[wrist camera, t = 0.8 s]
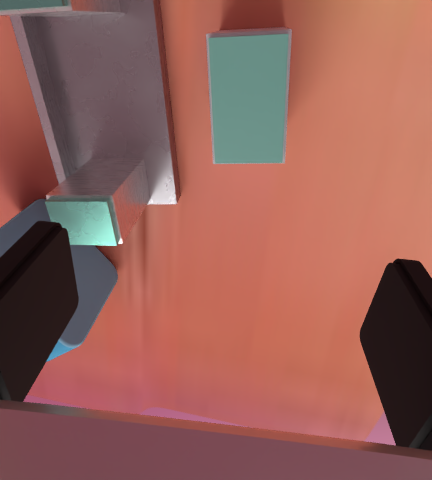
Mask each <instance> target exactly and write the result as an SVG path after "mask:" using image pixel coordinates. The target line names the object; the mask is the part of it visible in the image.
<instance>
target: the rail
mask: <svg viewBox="0 0 432 480" xmlns="http://www.w3.org/2000/svg"><path fill="white" fill-rule="evenodd" d="M0 16H10V19H11V22H12V25H13V29H14V32H15V36H16V39H17V43H18V46H19V49H20V53H21V56H22V60H23V63H24V66H25V70H26V73H27V77H28V80H29V84H30V87H31V90H32V94H33V97H34V101H35V104H36V108H37V111H38V114H39V118H40V121H41V125H42V128H43V132H44V135H45V138H46V142H47V145H48V149H49V152H50V156H51V159H52V162H53V166H54V169H55V173H56V176H57V180H58V183H59V185H58V186H57V187H55V188H54V189H53V190H52V191H50V192H49V193H48V194H47V195H46V198H47V200H46V201H45V204H46V207H47V210H48V213H49V216H50V219H51V222H59V223H60V224H61V225H62V228H66V229H67V231H68V235H69V242H70V245H105V246H117V245H118V244H123V242H124V241H125V239H126V237H127V236H128V234H129V233H130V231H131V229H132V228H133V226H134V225H135V223H136V221H137V220H138V218H139V217H140V215H141V213H142V212H143V210H144V209H145V207H146V205H147V204H177V202H178V200H179V198H180V196H181V193H180V184H179V175H178V166H177V156H176V147H175V138H174V128H173V119H172V110H171V101H170V91H169V82H168V73H167V63H166V54H165V45H164V36H163V26H162V17H161V8H160V0H0Z"/></svg>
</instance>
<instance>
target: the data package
mask: <svg viewBox="0 0 432 480" xmlns="http://www.w3.org/2000/svg"><path fill="white" fill-rule="evenodd" d="M46 200H47V199H38V200H36V201H34V202H33V203H32V204H30V205H29V206H28V207H27V208H25V209H24V210H23V211H21V212H20V213H19V214H17V215H16V216H15V217H14V218H12V219H11V220H10V221H8V222H7V223H6V224H5V225H3V226H2V227H1V228H0V257H1V256H2V255H3V254H4V253H5V252H6V251H7V250H8V249H9V248H10V247H11V246H12V245H13V244H14V243H15V242H16V241H17V240H18V239H19V238H21V237H22V236H23V235H24V234H25V233H26V232H27V231H28V230H29V229H30V228H31V227H32V226H33V225H34V224H35V223H36V222H37V221H49V222H51V219H50V216H49V213H48V210H47V207H46V204H45V201H46ZM70 248H71V254H72V260H73V266H74V272H75V278H76V284H77V290H78V296H79V302H78V307H77V309H76V311H75V313H74V315H73V316H72V318H71V320H70V321H69V323H68V325H67V327H66V328H65V330H64V332H63V333H62V335H61V337H60V339H59V340H58V342H57V344H56V346H55V347H54V349H53V351H52V352H51V354H50V356H49V358H48V359H47V361H50V360H52V359H54V358H56V357H58V356H60V355H62V354H64V353H66V352H68V351H70V350H72V349H74V348H76V347H78V346H80V345H81V344H82V343H83V342H84V340H85V338H86V337H87V335H88V333H89V331H90V329H91V327H92V326H93V324H94V322H95V320H96V318H97V317H98V315H99V313H100V311H101V309H102V308H103V306H104V304H105V302H106V300H107V299H108V297H109V295H110V293H111V291H112V290H113V288H114V286H115V284H116V282H117V279H118V275H117V271H116V269H115V267H114V266H113V264H112V263H111V262H110V261H109V260H108V259H107V258H106V257H105V256H104V255H103V254H102V253H101V252H100V251H99V250H98V249H97V248H96V246H95V245H70ZM47 361H46V362H47Z"/></svg>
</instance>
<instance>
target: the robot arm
mask: <svg viewBox="0 0 432 480" xmlns="http://www.w3.org/2000/svg"><path fill="white" fill-rule="evenodd" d="M78 302H79V296H78V290H77V284H76V278H75V272H74V266H73V260H72V254H71V248H70V242H69V235H68V231H67V229H66V228H62V225H61V224H60V223H59V222H49V221H37V222H36V223H35V224H34V225H33V226H32V227H31V228H30V229H29V230H28V231H27V232H26V233H25V234H24V235H23V236H22V237H21V238H19V239H18V240H17V241H16V242H15V243H14V244H13V245H12V246H11V247H10V248H9V249H8V250H7V251H6V252H5V253H4V254H3V255H2V256H1V257H0V480H432V278H431V277H430V275H429V274H428V272H427V271H426V269H425V268H424V267H423V265H422V264H421V263H420V262H419V261H415V260H406V259H396V260H395V261H394V262H393V263H389V264H388V265H387V266H386V268H385V271H384V273H383V276H382V278H381V281H380V283H379V285H378V288H377V290H376V293H375V295H374V298H373V300H372V303H371V305H370V307H369V310H368V312H367V315H366V317H365V320H364V322H363V325H362V327H361V330H360V341H361V344H362V347H363V350H364V353H365V356H366V359H367V362H368V365H369V368H370V371H371V373H372V376H373V379H374V382H375V385H376V388H377V391H378V394H379V397H380V400H381V403H382V406H383V408H384V411H385V414H386V417H387V420H388V423H389V426H390V429H391V432H392V435H393V438H394V440H395V443H396V446H394V445H387V444H379V443H372V442H364V441H356V440H348V439H340V438H332V437H323V436H315V435H307V434H299V433H291V432H283V431H275V430H266V429H258V428H250V427H241V426H233V425H224V424H216V423H207V422H198V421H190V420H181V419H173V418H164V417H156V416H147V415H139V414H130V413H121V412H112V411H103V410H94V409H85V408H76V407H67V406H58V405H50V404H40V403H29V402H23V401H24V399H25V397H26V395H27V394H28V392H29V390H30V389H31V387H32V385H33V383H34V382H35V380H36V378H37V376H38V375H39V373H40V371H41V370H42V368H43V366H44V364H45V363H46V361H47V359H48V358H49V356H50V354H51V352H52V351H53V349H54V347H55V346H56V344H57V342H58V340H59V339H60V337H61V335H62V333H63V332H64V330H65V328H66V327H67V325H68V323H69V321H70V320H71V318H72V316H73V315H74V313H75V311H76V309H77V307H78Z"/></svg>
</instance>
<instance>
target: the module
mask: <svg viewBox="0 0 432 480" xmlns="http://www.w3.org/2000/svg"><path fill="white" fill-rule="evenodd" d="M291 35H292V29H289V28H286V27H274V28H255V29H236V30H219V31H215V32H212V33H208V34H206V42H207V60H208V78H209V97H210V115H211V133H212V152H213V164H247V163H285V152H286V132H287V113H288V93H289V74H290V54H291Z"/></svg>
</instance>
